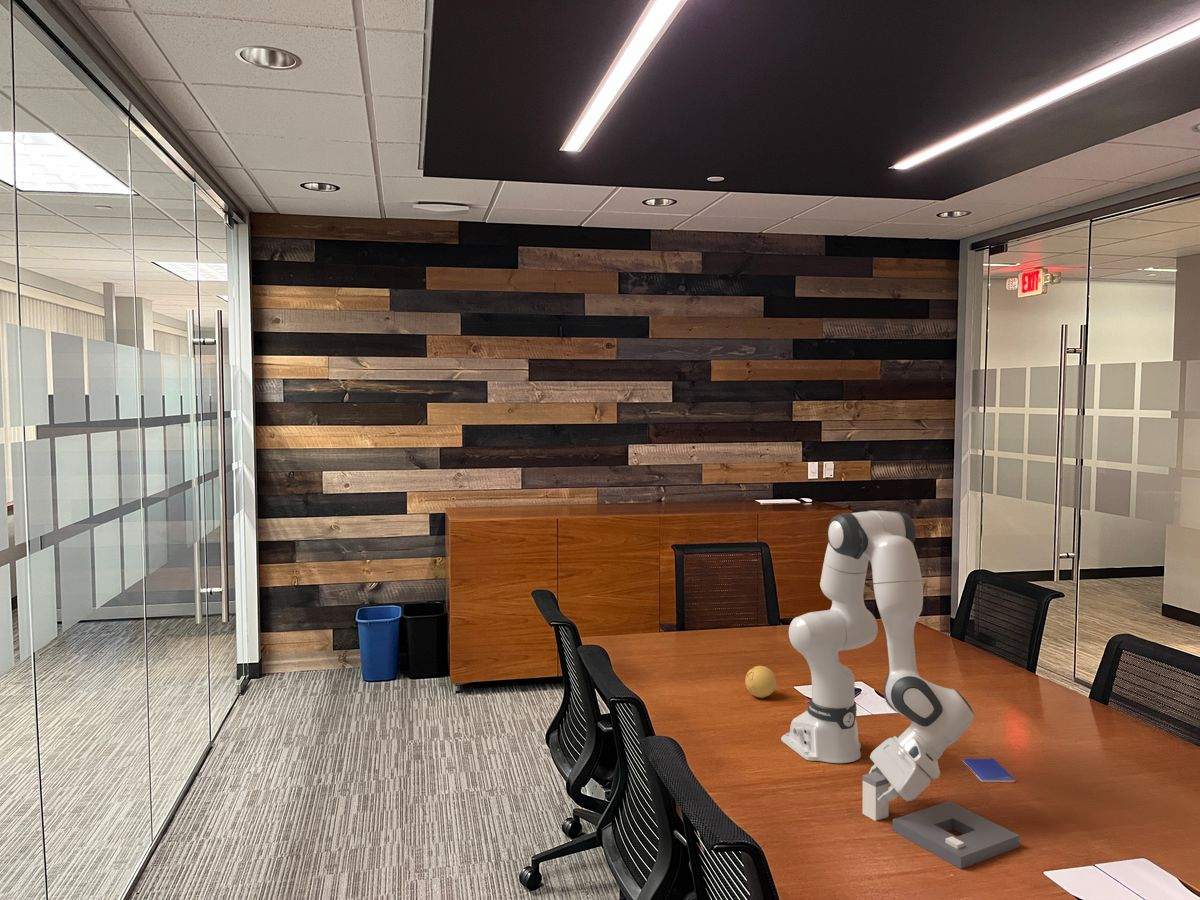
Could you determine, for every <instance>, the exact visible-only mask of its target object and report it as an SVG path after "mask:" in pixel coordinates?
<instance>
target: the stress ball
mask: <svg viewBox="0 0 1200 900" xmlns="http://www.w3.org/2000/svg"><path fill="white" fill-rule="evenodd" d="M744 681H745V682H744V684H745V687H746V689H747V691H748V692H749V693H750V694H751V695H753V696H754V697H756V698H758V699H765V698H766V697H769V696H771V694H773V693H774V691H775V689H776V688H777V677H776V675H775V673H774V672H773V670H771V669H770V668H768V667H767V666H763V665H757V666H753V667H751V668H750V669H749V670H748V671H747V672H746V675H745V679H744Z"/></svg>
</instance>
